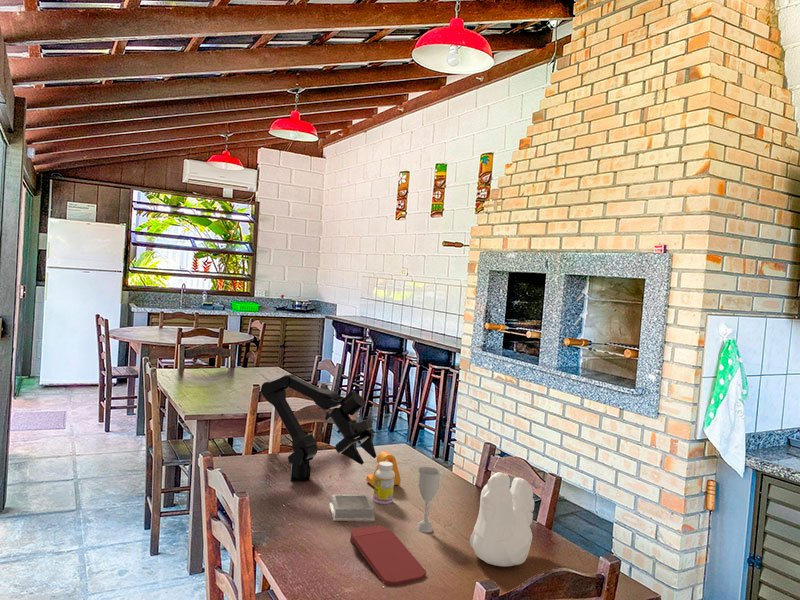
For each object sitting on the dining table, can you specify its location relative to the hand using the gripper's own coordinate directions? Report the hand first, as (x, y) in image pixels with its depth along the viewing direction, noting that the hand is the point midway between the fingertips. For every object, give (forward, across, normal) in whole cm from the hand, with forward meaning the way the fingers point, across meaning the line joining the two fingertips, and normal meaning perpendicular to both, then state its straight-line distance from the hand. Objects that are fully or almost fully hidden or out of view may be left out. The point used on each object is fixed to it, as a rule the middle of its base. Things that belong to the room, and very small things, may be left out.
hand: (369, 460), depth 199 cm
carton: (+27, -36, -9) cm, 46 cm away
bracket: (+8, +14, +10) cm, 19 cm away
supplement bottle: (+14, 0, +4) cm, 14 cm away
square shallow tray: (+11, -15, +7) cm, 20 cm away
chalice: (+28, -12, -10) cm, 32 cm away
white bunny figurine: (+47, -15, -29) cm, 57 cm away
